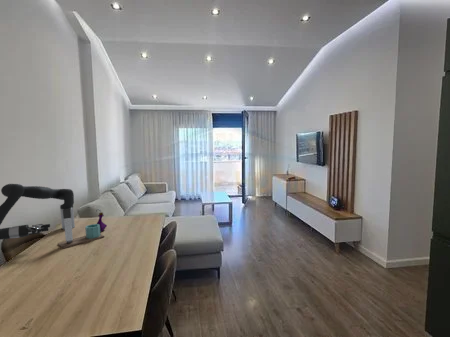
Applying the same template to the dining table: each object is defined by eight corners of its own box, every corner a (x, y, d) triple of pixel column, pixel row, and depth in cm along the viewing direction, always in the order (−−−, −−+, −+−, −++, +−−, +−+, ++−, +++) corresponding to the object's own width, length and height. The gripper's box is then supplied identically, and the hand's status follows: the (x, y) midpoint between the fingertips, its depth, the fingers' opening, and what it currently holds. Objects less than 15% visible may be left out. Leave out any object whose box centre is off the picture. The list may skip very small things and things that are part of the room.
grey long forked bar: (66, 242, 181) (63, 209, 178) (73, 241, 183) (70, 208, 180) (65, 244, 178) (62, 210, 175) (73, 243, 180) (70, 209, 177)
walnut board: (58, 244, 180) (57, 243, 180) (97, 233, 200) (97, 232, 200) (63, 248, 172) (63, 247, 172) (104, 237, 192) (104, 236, 192)
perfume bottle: (107, 229, 211) (105, 207, 209) (102, 232, 203) (100, 210, 202) (98, 229, 212) (97, 207, 210) (93, 232, 204) (91, 210, 202)
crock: (84, 236, 192) (83, 226, 191) (97, 233, 198) (96, 223, 198) (89, 239, 186) (88, 228, 185) (102, 235, 192) (101, 225, 192)
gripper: (15, 229, 160) (47, 224, 167) (21, 223, 172) (50, 219, 180) (17, 240, 160) (48, 235, 168) (22, 233, 173) (51, 229, 180)
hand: (49, 227), depth 174 cm, fingers open, 8 cm apart
